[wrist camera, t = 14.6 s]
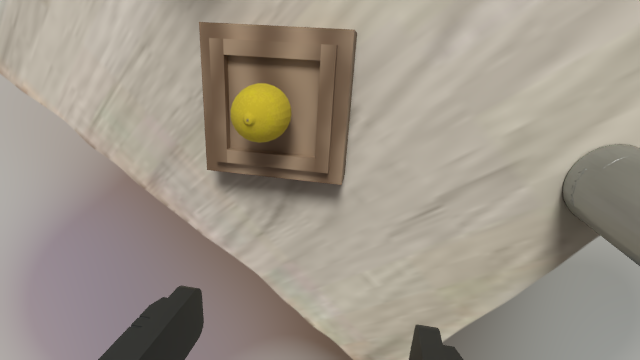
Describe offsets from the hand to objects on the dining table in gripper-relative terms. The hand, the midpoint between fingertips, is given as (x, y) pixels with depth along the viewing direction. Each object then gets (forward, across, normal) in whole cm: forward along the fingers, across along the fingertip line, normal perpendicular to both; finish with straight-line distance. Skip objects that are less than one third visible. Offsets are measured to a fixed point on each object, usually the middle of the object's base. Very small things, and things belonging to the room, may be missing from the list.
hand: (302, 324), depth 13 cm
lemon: (+26, +9, -4) cm, 28 cm away
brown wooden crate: (+30, +9, -4) cm, 32 cm away
